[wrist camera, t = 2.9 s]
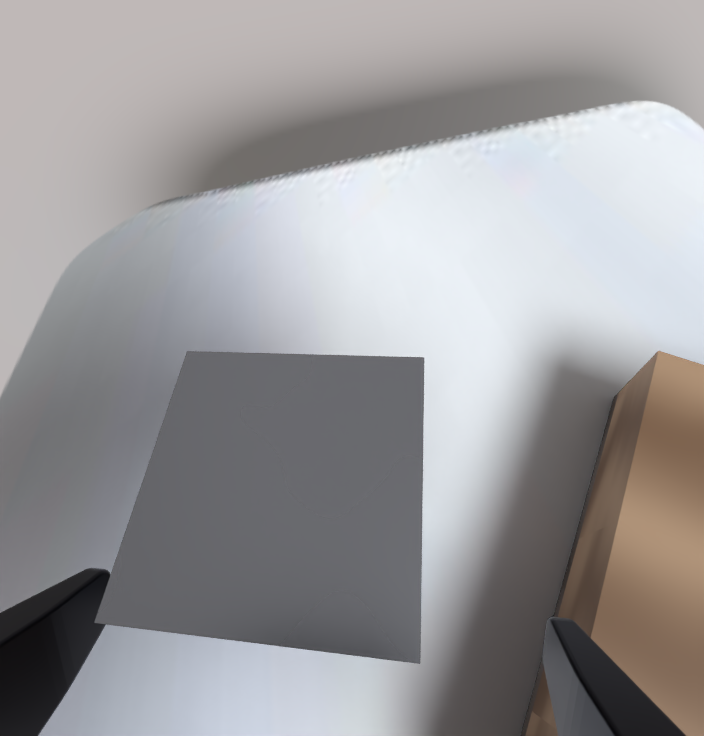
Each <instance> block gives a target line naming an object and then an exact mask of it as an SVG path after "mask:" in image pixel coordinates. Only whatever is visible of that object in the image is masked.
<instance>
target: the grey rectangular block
mask: <svg viewBox="0 0 704 736" xmlns="http://www.w3.org/2000/svg"><path fill="white" fill-rule="evenodd" d="M423 411H424V358H423V357H385V356H347V355H308V354H270V353H232V352H194V351H187V353H186V356H185V359H184V362H183V365H182V368H181V371H180V374H179V377H178V380H177V383H176V386H175V389H174V391H173V394H172V397H171V400H170V403H169V406H168V409H167V412H166V415H165V418H164V421H163V424H162V426H161V429H160V432H159V435H158V438H157V441H156V444H155V447H154V450H153V453H152V456H151V459H150V461H149V464H148V467H147V470H146V473H145V476H144V479H143V482H142V485H141V488H140V491H139V494H138V496H137V499H136V502H135V505H134V508H133V511H132V514H131V517H130V520H129V523H128V526H127V529H126V531H125V534H124V537H123V540H122V543H121V546H120V549H119V552H118V555H117V558H116V561H115V564H114V566H113V569H112V572H111V575H110V578H109V581H108V584H107V587H106V590H105V593H104V596H103V599H102V601H101V604H100V607H99V610H98V613H97V616H96V619H95V622H94V623H99V624H107V625H115V626H123V627H131V628H139V629H147V630H155V631H163V632H171V633H179V634H187V635H195V636H203V637H211V638H219V639H227V640H235V641H243V642H251V643H259V644H267V645H275V646H283V647H291V648H299V649H307V650H315V651H323V652H331V653H339V654H347V655H355V656H363V657H371V658H379V659H387V660H395V661H403V662H411V663H419V664H420V643H421V565H422V488H423Z"/></svg>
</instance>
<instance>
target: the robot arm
mask: <svg viewBox="0 0 704 736" xmlns="http://www.w3.org/2000/svg"><path fill="white" fill-rule="evenodd" d="M109 578H110V573H109V572H108V570H106V569H97V568H89V569H86V570H84V571H82V572H80V573H78V574H76V575H74V576H72V577H70V578H68V579H66V580H64V581H62V582H60V583H58V584H56V585H54V586H52V587H50V588H48V589H46V590H44V591H42V592H40V593H39V594H37V595H35V596H33V597H31V598H29V599H27V600H25V601H23V602H21V603H19V604H17V605H15V606H13V607H11V608H9V609H7V610H5V611H3V612H1V613H0V736H38V735H39V733H40V732H41V731H42V729H43V728H44V726H45V725H46V723H47V722H48V720H49V719H50V717H51V716H52V714H53V713H54V711H55V710H56V708H57V707H58V705H59V704H60V702H61V701H62V699H63V698H64V696H65V694H66V693H67V691H68V690H69V688H70V686H71V685H72V683H73V681H74V680H75V678H76V676H77V675H78V673H79V671H80V669H81V667H82V666H83V664H84V662H85V660H86V659H87V657H88V655H89V653H90V652H91V650H92V648H93V646H94V644H95V643H96V641H97V639H98V637H99V636H100V634H101V632H102V630H103V628H104V627H105V625H106V624H99V623H94V622H95V619H96V616H97V613H98V610H99V607H100V604H101V601H102V599H103V596H104V593H105V590H106V587H107V584H108V581H109ZM543 664H544V669H545V674H546V679H547V684H548V689H549V693H550V698H551V703H552V708H553V713H554V718H555V722H556V727H557V732H558V736H686V735H685V734H684V733H683V732H682V731H681V730H680V729H679V728H678V727H677V726H676V725H675V724H674V722H673V721H672V720H671V719H670V718H669V717H668V716H667V715H666V714H665V713H664V712H663V711H662V710H661V709H660V708H659V707H658V706H657V705H656V704H655V703H654V702H653V701H652V700H651V699H650V698H649V697H648V696H647V695H646V694H645V693H644V692H643V691H642V690H641V689H640V688H639V687H638V686H637V685H636V684H635V683H634V682H633V681H632V679H631V678H630V677H629V676H628V675H627V674H626V673H625V672H624V671H623V670H622V669H621V668H620V667H619V666H618V665H617V664H616V663H615V662H614V661H613V660H612V659H611V658H610V657H609V656H608V655H607V654H606V653H605V652H604V651H603V650H602V649H601V648H600V647H599V646H598V645H597V644H596V643H595V642H594V641H593V640H592V639H591V638H590V637H589V635H588V634H587V633H586V632H585V631H584V630H583V629H582V628H581V627H580V626H579V625H578V624H577V623H576V622H575V621H573V620H572V619H569V618H560V617H550V618H548V620H547V624H546V631H545V638H544V645H543Z"/></svg>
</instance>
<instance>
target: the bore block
mask: <svg viewBox="0 0 704 736" xmlns="http://www.w3.org/2000/svg"><path fill="white" fill-rule="evenodd" d="M554 617H560V618H569V619H572V620H573V621H575V622H576V623H577V624H578V625H579V626H580V627H581V628H582V629H583V630H584V631H585V632H586V633H587V634H588V635H589V637H590V638H591V639H592V640H593V641H594V642H595V643H596V644H597V645H598V646H599V647H600V648H601V649H602V650H603V651H604V652H605V653H606V654H607V655H608V656H609V657H610V658H611V659H612V660H613V661H614V662H615V663H616V664H617V665H618V666H619V667H620V668H621V669H622V670H623V671H624V672H625V673H626V674H627V675H628V676H629V677H630V678H631V679H632V681H633V682H634V683H635V684H636V685H637V686H638V687H639V688H640V689H641V690H642V691H643V692H644V693H645V694H646V695H647V696H648V697H649V698H650V699H651V700H652V701H653V702H654V703H655V704H656V705H657V706H658V707H659V708H660V709H661V710H662V711H663V712H664V713H665V714H666V715H667V716H668V717H669V718H670V719H671V720H672V721H673V722H674V724H675V725H676V726H677V727H678V728H679V729H680V730H681V731H682V732H683V733H684V734H685V735H686V736H704V365H702V364H699V363H695V362H692V361H689V360H686V359H683V358H680V357H676V356H673V355H670V354H667V353H664V352H661V351H658V352H657V353H656V354H655V355H654V356H653V357H652V358H651V359H650V360H649V361H648V362H647V363H646V364H645V365H644V366H643V368H642V369H641V370H640V371H639V372H638V373H637V374H636V375H635V376H634V377H633V378H632V379H631V380H630V381H629V382H628V383H627V384H626V385H625V386H624V387H623V388H622V390H621V391H620V392H619V393H618V394H617V395H616V396H615V397H614V399H613V403H612V406H611V410H610V414H609V417H608V421H607V424H606V428H605V432H604V435H603V439H602V443H601V446H600V450H599V453H598V457H597V461H596V464H595V468H594V472H593V475H592V479H591V482H590V486H589V490H588V493H587V497H586V501H585V504H584V508H583V511H582V515H581V519H580V522H579V526H578V530H577V533H576V537H575V540H574V544H573V548H572V551H571V555H570V559H569V562H568V566H567V570H566V573H565V577H564V580H563V584H562V588H561V591H560V595H559V599H558V602H557V606H556V609H555V613H554ZM521 736H558V732H557V727H556V722H555V718H554V713H553V708H552V703H551V698H550V693H549V689H548V684H547V679H546V674H545V669H544V664H543V657H542V660H541V664H540V667H539V671H538V675H537V678H536V682H535V686H534V689H533V693H532V697H531V700H530V704H529V707H528V711H527V715H526V718H525V722H524V726H523V729H522V733H521Z"/></svg>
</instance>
